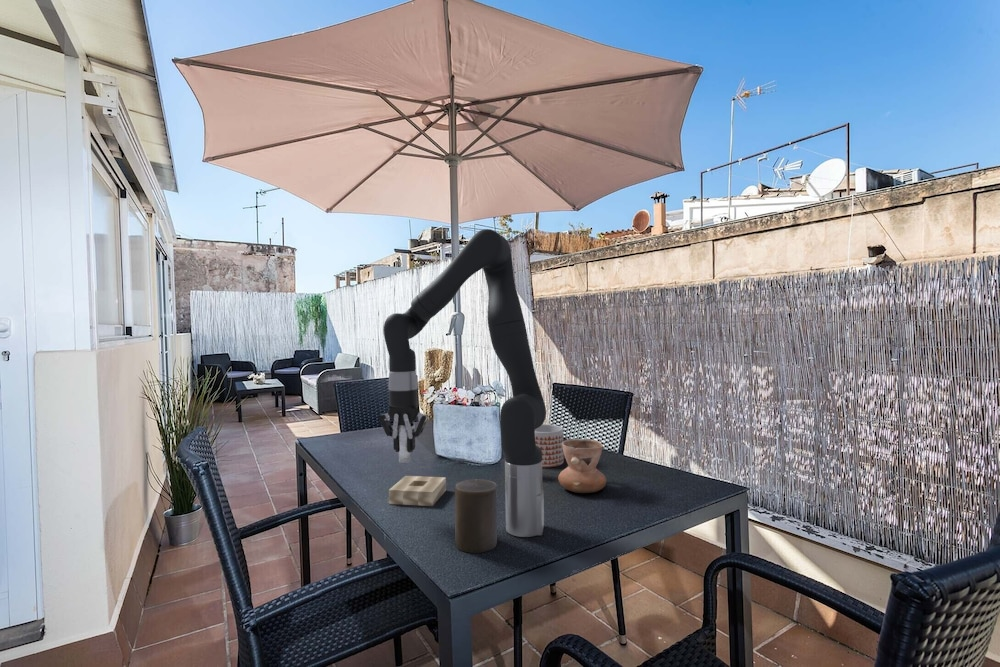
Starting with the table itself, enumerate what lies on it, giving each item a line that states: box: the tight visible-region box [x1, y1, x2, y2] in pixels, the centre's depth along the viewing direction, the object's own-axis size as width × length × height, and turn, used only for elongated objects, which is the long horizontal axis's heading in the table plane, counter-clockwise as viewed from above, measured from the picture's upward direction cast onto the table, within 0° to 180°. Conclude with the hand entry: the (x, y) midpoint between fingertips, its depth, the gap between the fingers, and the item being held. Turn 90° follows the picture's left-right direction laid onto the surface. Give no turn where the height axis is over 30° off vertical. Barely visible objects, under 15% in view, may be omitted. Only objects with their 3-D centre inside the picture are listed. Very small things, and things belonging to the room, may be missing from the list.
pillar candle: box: [454, 478, 498, 554], centre depth 111 cm, size 10×10×15 cm
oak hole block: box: [388, 475, 447, 507], centre depth 142 cm, size 13×13×4 cm
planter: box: [535, 423, 565, 469], centre depth 175 cm, size 14×14×13 cm
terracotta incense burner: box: [557, 438, 607, 494], centre depth 147 cm, size 18×14×14 cm
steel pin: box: [398, 425, 411, 464], centre depth 129 cm, size 3×3×10 cm
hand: (404, 451), depth 129 cm, fingers closed on steel pin, 3 cm apart
